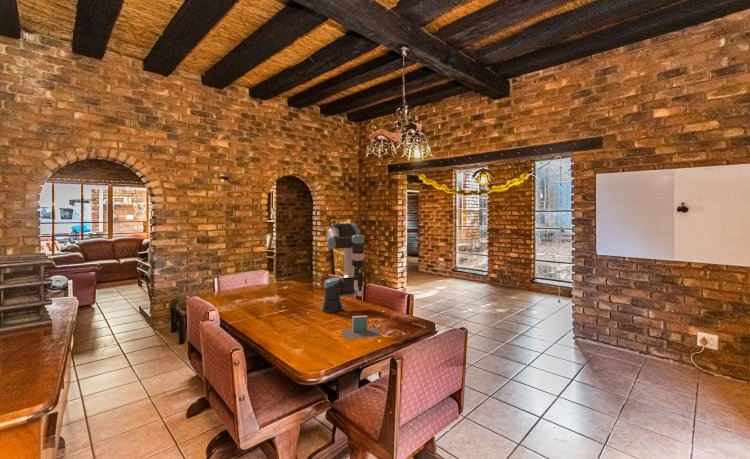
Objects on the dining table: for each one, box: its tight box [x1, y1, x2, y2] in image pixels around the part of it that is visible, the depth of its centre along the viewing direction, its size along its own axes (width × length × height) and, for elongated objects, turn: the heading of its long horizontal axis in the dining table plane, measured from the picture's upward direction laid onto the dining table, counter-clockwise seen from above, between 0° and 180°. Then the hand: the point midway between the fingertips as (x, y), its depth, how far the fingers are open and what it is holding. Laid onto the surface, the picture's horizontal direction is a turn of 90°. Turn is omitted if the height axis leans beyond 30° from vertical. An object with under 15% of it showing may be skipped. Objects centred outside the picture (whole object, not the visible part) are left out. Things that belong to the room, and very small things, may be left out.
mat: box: [341, 327, 382, 340], centre depth 202 cm, size 14×22×1 cm, turn 102°
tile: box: [351, 315, 368, 332], centre depth 206 cm, size 2×9×9 cm, turn 102°
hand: (358, 293), depth 212 cm, fingers open, 13 cm apart
